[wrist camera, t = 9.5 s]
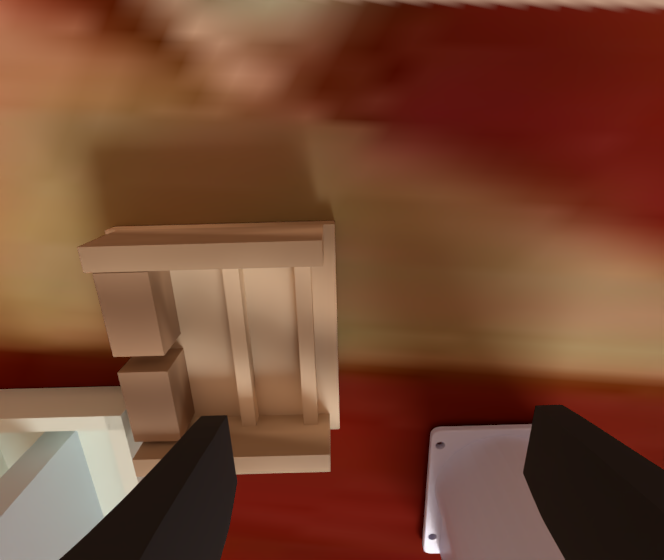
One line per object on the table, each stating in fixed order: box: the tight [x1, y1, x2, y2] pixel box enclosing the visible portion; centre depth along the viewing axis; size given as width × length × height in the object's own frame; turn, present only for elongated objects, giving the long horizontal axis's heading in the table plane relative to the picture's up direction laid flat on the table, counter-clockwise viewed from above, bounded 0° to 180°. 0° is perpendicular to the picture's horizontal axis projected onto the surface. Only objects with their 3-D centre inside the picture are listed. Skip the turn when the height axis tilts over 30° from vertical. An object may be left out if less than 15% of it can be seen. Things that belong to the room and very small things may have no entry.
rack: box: [77, 221, 340, 477], centre depth 18 cm, size 11×10×4 cm
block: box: [0, 431, 104, 560], centre depth 19 cm, size 8×2×6 cm, turn 1°
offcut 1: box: [93, 271, 181, 357], centre depth 17 cm, size 4×2×2 cm, turn 1°
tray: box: [0, 386, 144, 517], centre depth 22 cm, size 12×9×2 cm
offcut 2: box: [117, 348, 195, 442], centre depth 19 cm, size 4×2×2 cm, turn 1°
